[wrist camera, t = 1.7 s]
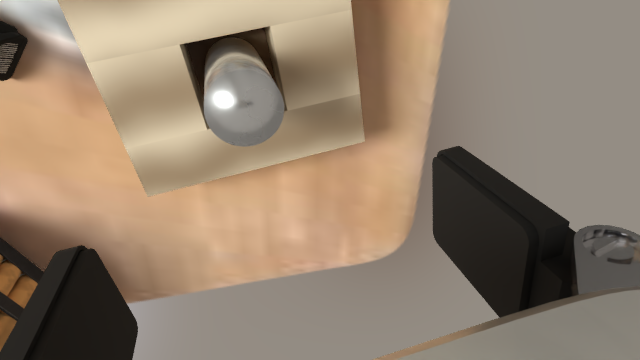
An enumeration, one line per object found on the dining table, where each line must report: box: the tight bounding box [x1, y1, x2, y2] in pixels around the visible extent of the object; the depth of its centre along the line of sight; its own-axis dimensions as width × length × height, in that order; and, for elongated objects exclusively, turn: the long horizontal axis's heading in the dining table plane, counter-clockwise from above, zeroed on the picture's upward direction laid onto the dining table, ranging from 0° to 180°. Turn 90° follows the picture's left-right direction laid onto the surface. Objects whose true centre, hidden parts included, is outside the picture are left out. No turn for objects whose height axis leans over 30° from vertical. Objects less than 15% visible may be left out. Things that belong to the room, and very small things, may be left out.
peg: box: [204, 37, 284, 147], centre depth 24 cm, size 4×4×10 cm
